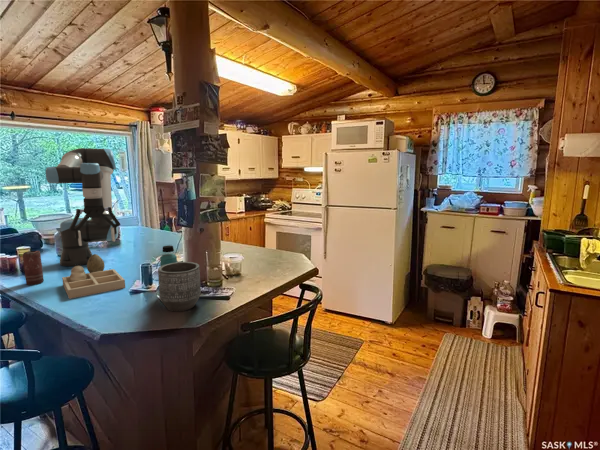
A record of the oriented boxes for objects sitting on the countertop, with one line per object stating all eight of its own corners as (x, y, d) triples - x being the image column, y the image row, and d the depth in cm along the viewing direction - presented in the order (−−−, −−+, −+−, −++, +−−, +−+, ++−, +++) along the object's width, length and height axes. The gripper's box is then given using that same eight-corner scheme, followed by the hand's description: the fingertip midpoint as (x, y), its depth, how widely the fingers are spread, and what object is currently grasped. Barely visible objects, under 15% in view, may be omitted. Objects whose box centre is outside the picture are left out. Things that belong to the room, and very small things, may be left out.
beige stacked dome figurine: (69, 283, 149) (67, 265, 148) (85, 280, 153) (84, 263, 151) (71, 287, 144) (69, 268, 143) (88, 284, 148) (86, 266, 147)
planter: (191, 296, 138) (189, 259, 135) (207, 306, 127) (206, 267, 125) (154, 305, 128) (152, 266, 126) (169, 317, 118) (166, 275, 115)
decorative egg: (87, 277, 159) (85, 256, 158) (88, 273, 166) (86, 253, 164) (105, 275, 163) (103, 254, 161) (105, 271, 169) (103, 251, 167)
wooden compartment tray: (63, 285, 149) (62, 277, 149) (114, 276, 162) (113, 268, 161) (69, 298, 134) (68, 290, 134) (125, 287, 147) (124, 279, 146)
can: (47, 281, 154) (44, 250, 152) (32, 286, 148) (28, 254, 146) (38, 280, 156) (34, 249, 154) (23, 284, 150) (18, 253, 148)
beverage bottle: (164, 291, 142) (161, 244, 139) (181, 291, 142) (178, 243, 139) (159, 297, 136) (156, 247, 132) (176, 297, 136) (174, 247, 133)
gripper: (61, 199, 147) (66, 248, 150) (125, 196, 163) (128, 240, 167) (58, 198, 152) (64, 245, 156) (120, 195, 168) (124, 238, 172)
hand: (97, 243), depth 161 cm, fingers open, 13 cm apart
